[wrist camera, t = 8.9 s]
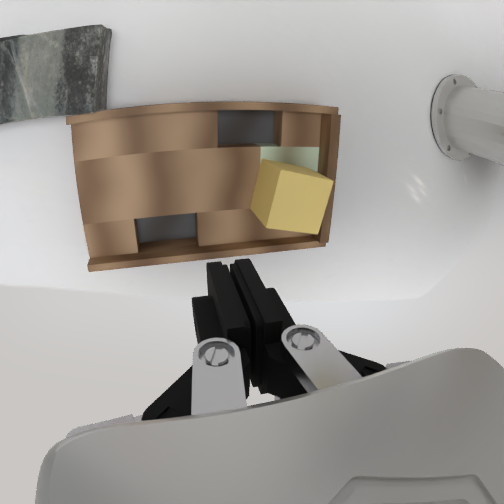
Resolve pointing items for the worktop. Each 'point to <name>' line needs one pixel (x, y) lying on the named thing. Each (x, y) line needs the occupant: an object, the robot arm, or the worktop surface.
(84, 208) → the box
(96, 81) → the stone block
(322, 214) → the block
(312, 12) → the worktop surface
